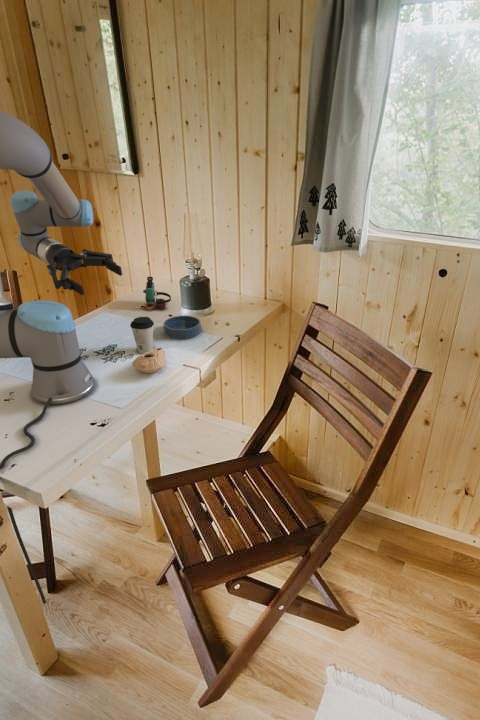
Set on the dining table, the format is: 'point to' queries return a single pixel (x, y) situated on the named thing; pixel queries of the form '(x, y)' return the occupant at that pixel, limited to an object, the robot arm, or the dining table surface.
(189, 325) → the bowl
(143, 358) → the pottery oil lamp
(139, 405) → the dining table surface
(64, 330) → the robot arm
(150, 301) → the green and brown piece
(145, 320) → the coffee cup
